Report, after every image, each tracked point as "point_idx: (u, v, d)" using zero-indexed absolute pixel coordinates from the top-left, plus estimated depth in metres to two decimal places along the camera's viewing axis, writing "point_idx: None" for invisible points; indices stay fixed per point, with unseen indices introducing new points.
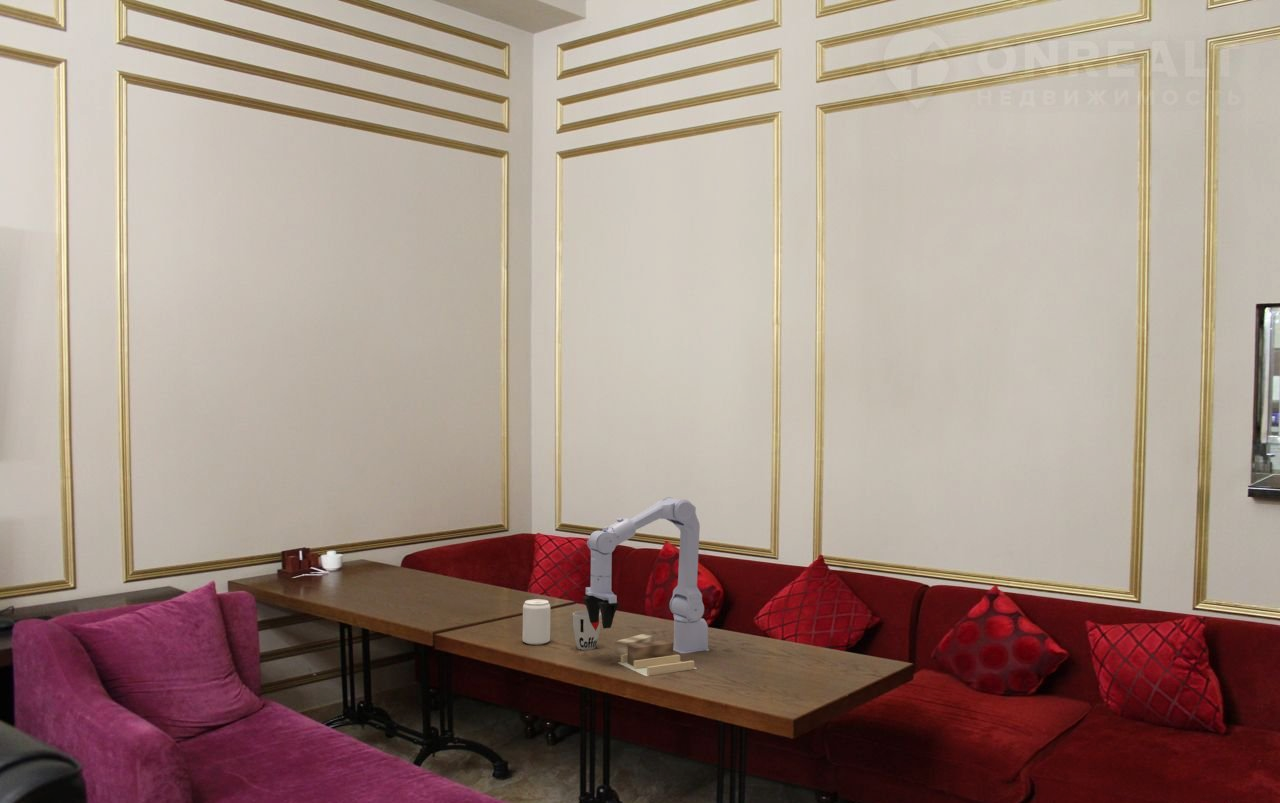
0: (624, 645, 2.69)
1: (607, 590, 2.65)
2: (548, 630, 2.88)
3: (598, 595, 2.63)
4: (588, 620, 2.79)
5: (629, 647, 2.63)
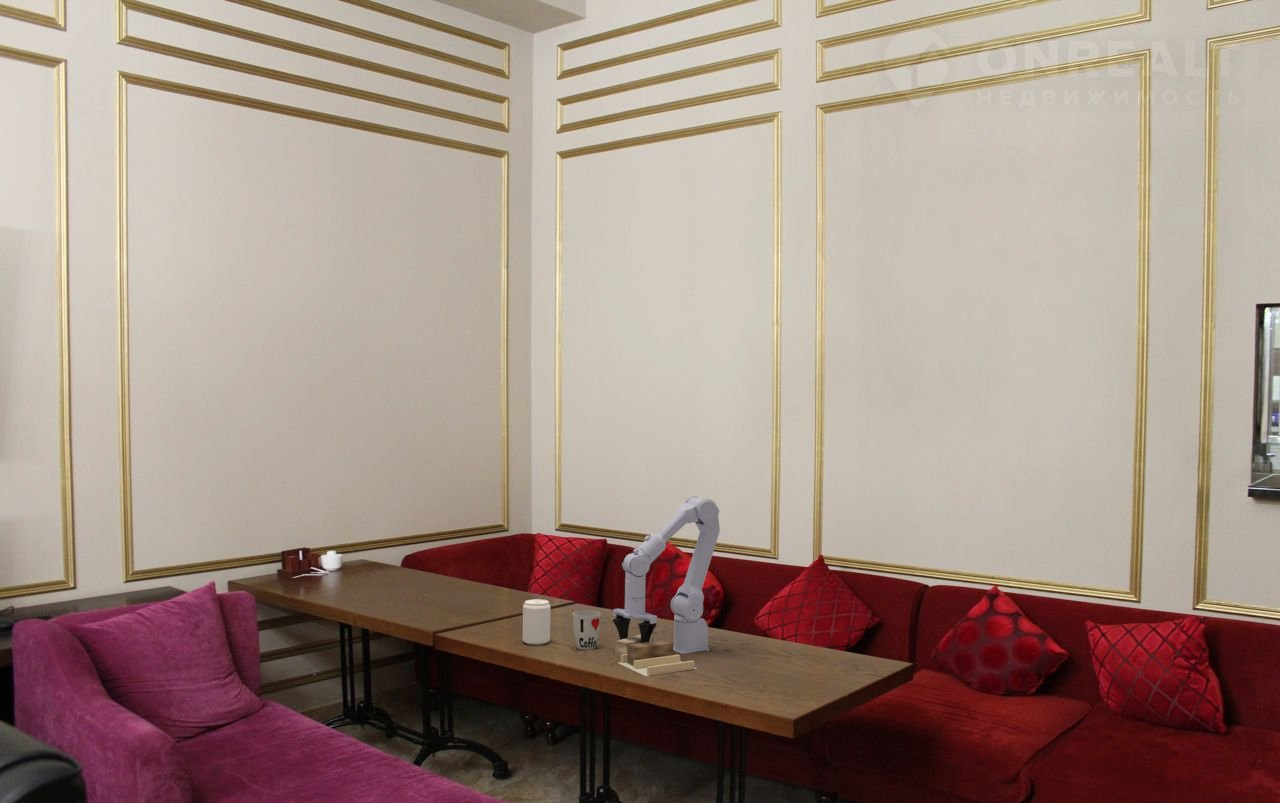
0: (624, 645, 2.69)
1: (644, 611, 2.73)
2: (548, 630, 2.88)
3: (637, 616, 2.71)
4: (588, 620, 2.79)
5: (629, 647, 2.63)
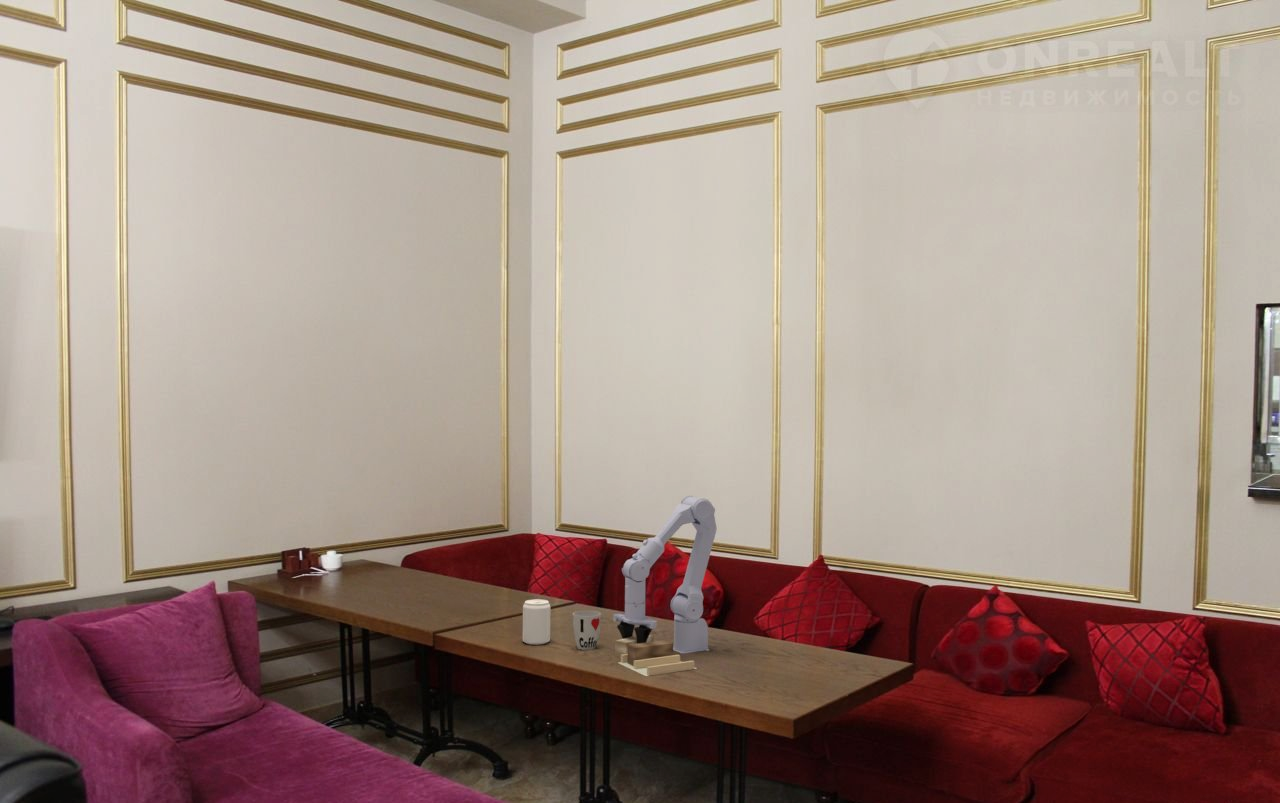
0: (624, 644, 2.69)
1: (644, 616, 2.73)
2: (548, 630, 2.88)
3: (637, 622, 2.71)
4: (588, 620, 2.79)
5: (629, 647, 2.63)
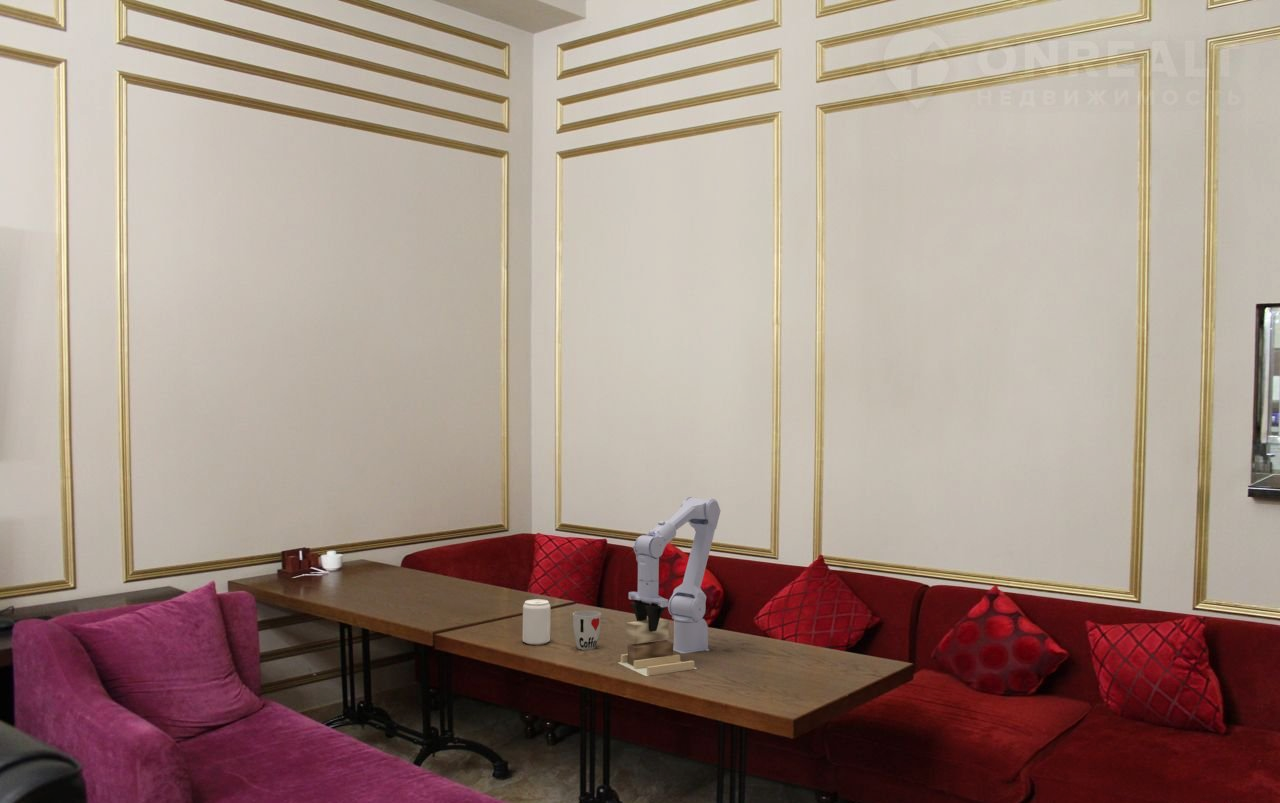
0: (633, 627, 2.63)
1: (656, 594, 2.66)
2: (548, 630, 2.88)
3: (648, 599, 2.64)
4: (588, 620, 2.79)
5: (629, 647, 2.63)
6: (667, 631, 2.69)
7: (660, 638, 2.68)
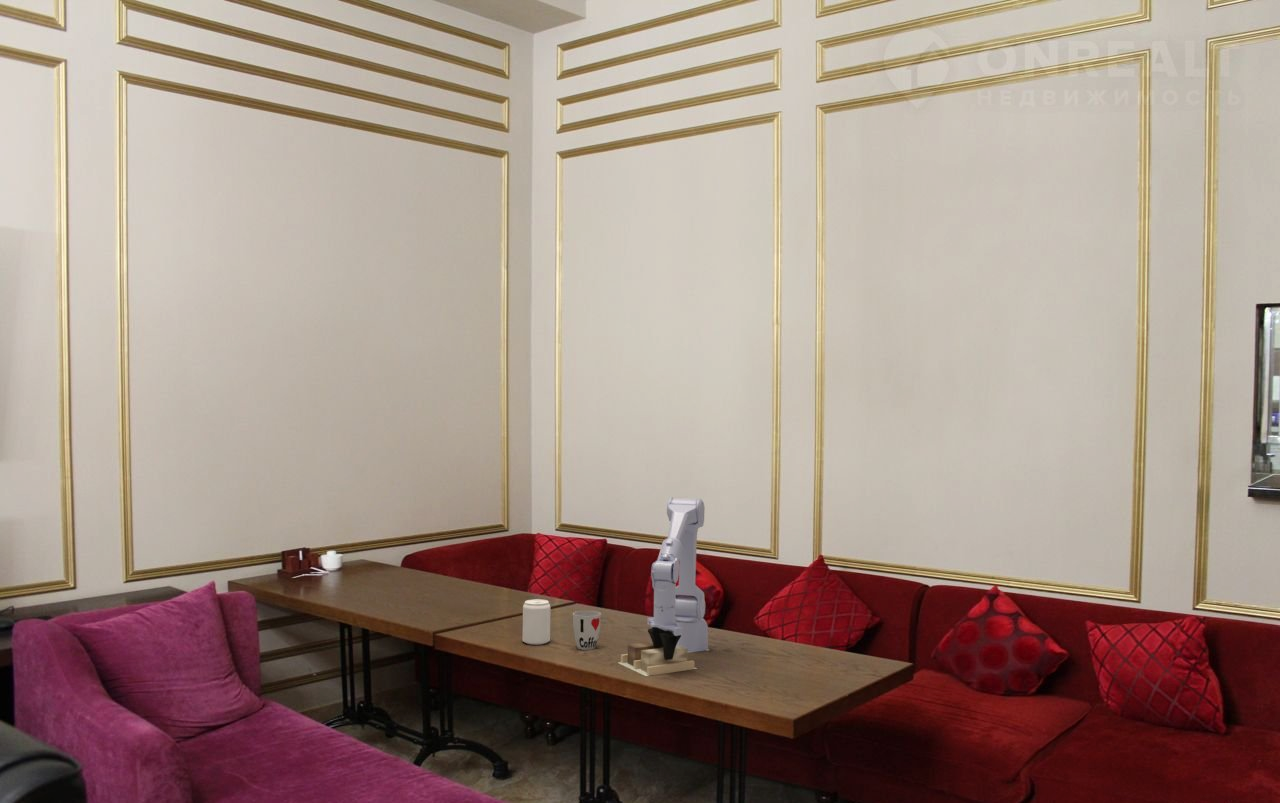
0: (647, 655, 2.55)
1: (672, 622, 2.57)
2: (548, 630, 2.88)
3: (662, 627, 2.55)
4: (588, 620, 2.79)
5: (629, 647, 2.63)
6: (686, 660, 2.60)
7: None
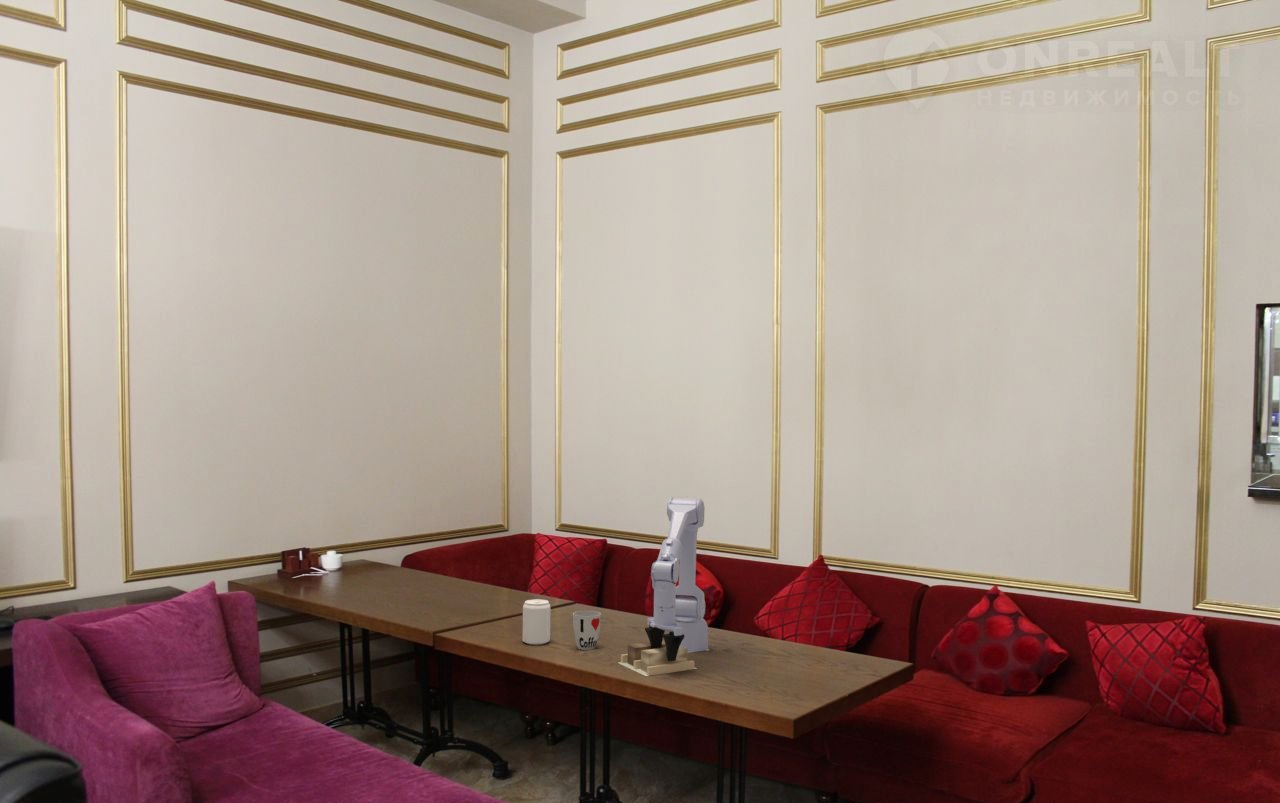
0: (647, 655, 2.55)
1: (672, 622, 2.57)
2: (548, 630, 2.88)
3: (662, 627, 2.55)
4: (588, 620, 2.79)
5: (629, 647, 2.63)
6: (686, 660, 2.60)
7: None
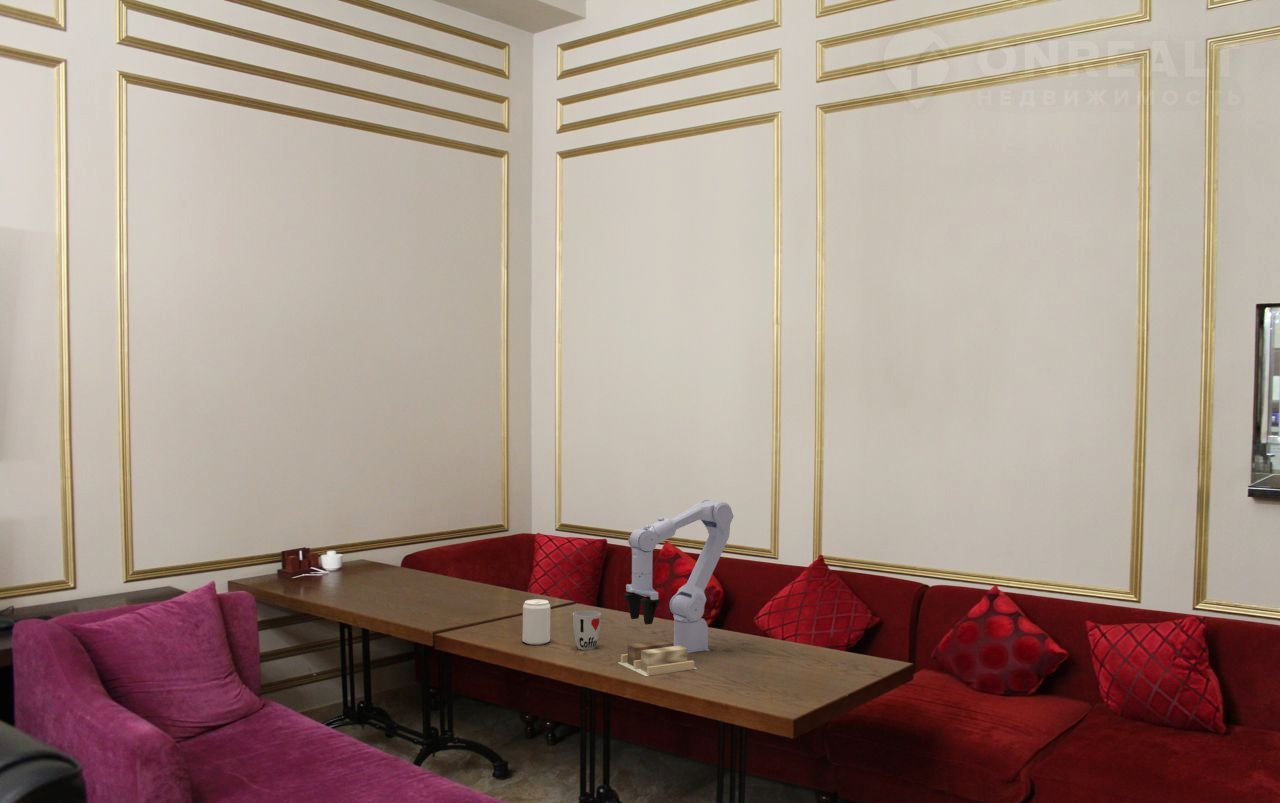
0: (647, 655, 2.55)
1: (649, 587, 2.71)
2: (548, 630, 2.88)
3: (640, 592, 2.70)
4: (588, 620, 2.79)
5: (629, 647, 2.63)
6: (686, 660, 2.60)
7: None
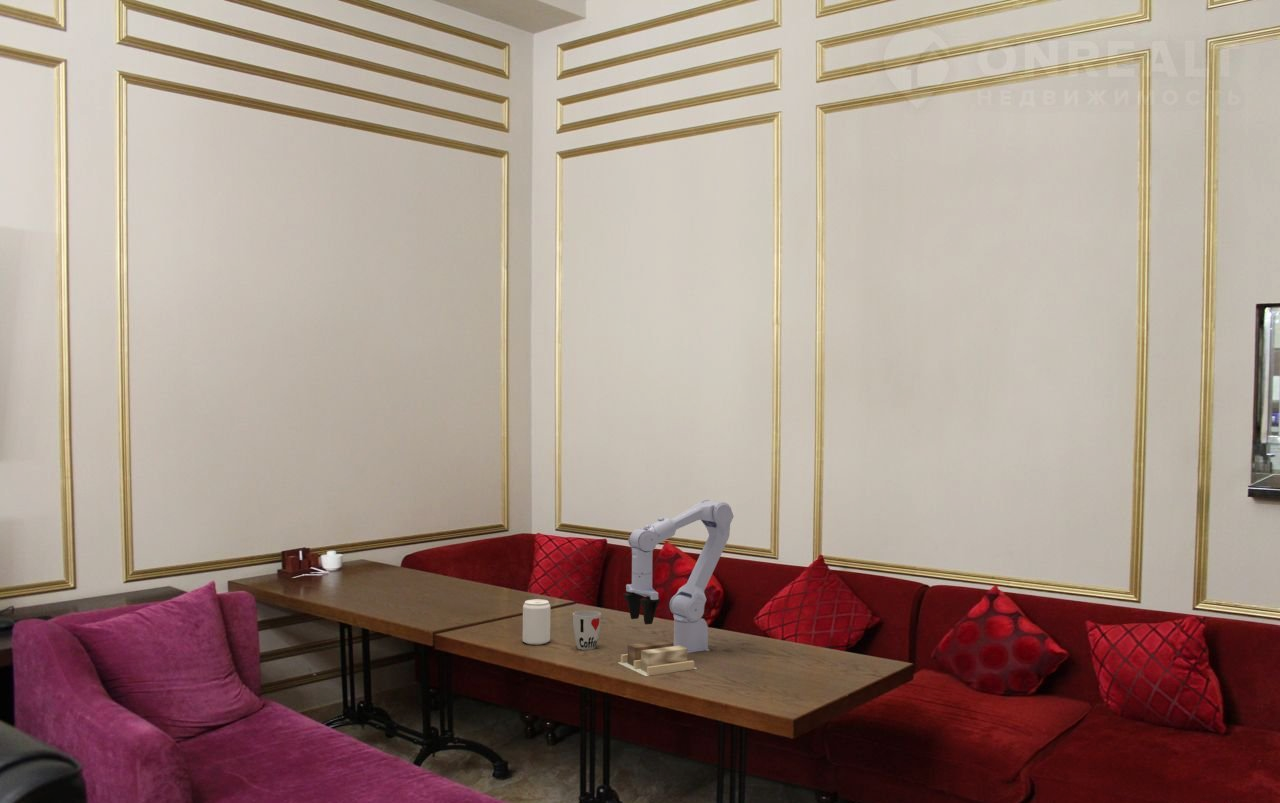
0: (647, 655, 2.55)
1: (649, 587, 2.71)
2: (548, 630, 2.88)
3: (640, 592, 2.70)
4: (588, 620, 2.79)
5: (629, 647, 2.63)
6: (686, 660, 2.60)
7: None
